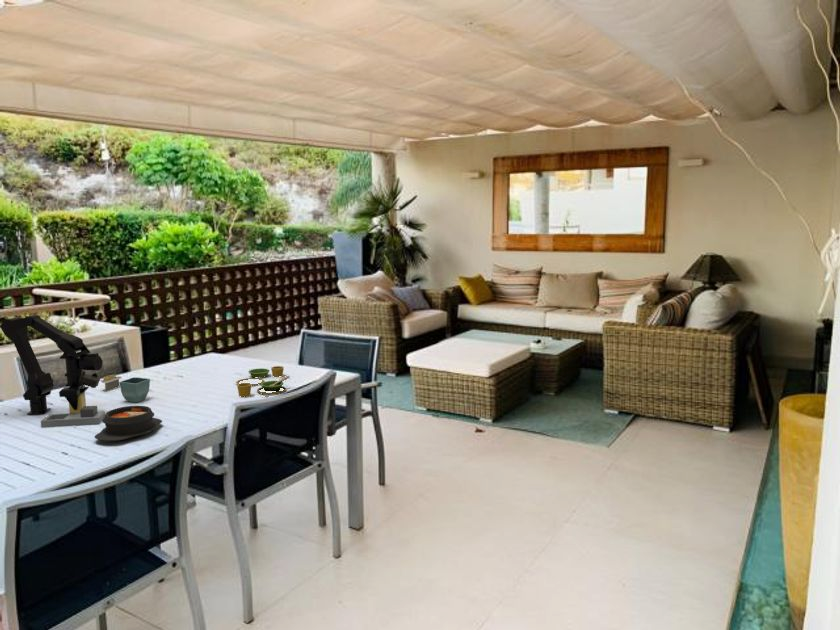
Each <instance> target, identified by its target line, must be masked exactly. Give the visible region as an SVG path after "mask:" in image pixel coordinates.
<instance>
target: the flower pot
mask: <svg viewBox="0 0 840 630" xmlns="http://www.w3.org/2000/svg"><path fill="white" fill-rule="evenodd" d="M150 382H151V378H147V377H146V378H145V377H134V376H133V377H130V378H126V379H124V380H122V381H119V388H120V392H121V394H122V397H123V399H124V400H125V401H126V402H131V403H139V402H142V401H143V400H144V401H145V399H147V396H148V395H149V391H150V384H151V383H150Z"/></svg>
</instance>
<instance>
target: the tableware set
mask: <svg viewBox="0 0 840 630" xmlns="http://www.w3.org/2000/svg"><path fill="white" fill-rule="evenodd" d="M270 368H271V370H270V369H269V368H253V369H249V370H248V374H249V375H250V376H251V377H246V378H241V379H238V380H236V382H235V384H236V387H237V392H238V396H241V397H240V398H245V397H244V396H249V395H250V396H251V391H252V386H251V385H257V386H259V385H258V384H260V386H261V387H259V388H257V389H256V392H257V393H259V394H260V393H262V394H261V395H263V394H276V395H279V394H278V393H280V394H283V393H284V392H285V391H286V390H287V387H286V386H282V385H285V384H284V383H285V382H283V381H284V380H287V379H289V378H290V375H288V376H286V375H285V376H286V377H283V376H284V375H283V374H284V366H282V365H279V366H278V365H277V366H275V365H274V366H272V367H270ZM270 371H271V373H272V377H273V376H274V377H279V376H282V375H283V376H282V377H281V378H282V379H281V378H280V379H281V380H280V379H279V381H278V380H266V381H265V380H264V379H263V378H253V377H264V376H266V377H267V375H268V374H269V372H270ZM274 377H273V378H274ZM264 378H265V377H264ZM248 379H259V380H262V382H261V383H258V384H250V383H241V384H239V382H240V381H243V380H248ZM263 388H264V390H265V391H276V392H272V393H266V392H260V391H259V390H261V389H263ZM280 388H283V389H284V390H283V391H279V390H280ZM282 392H283V393H282ZM250 396H249V397H250ZM263 396H265V397H264V398H268V397H269V396H270V395H263Z"/></svg>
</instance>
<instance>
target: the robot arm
mask: <svg viewBox="0 0 840 630" xmlns="http://www.w3.org/2000/svg"><path fill="white" fill-rule="evenodd" d="M28 327H30V328H32V330H33V329H34V331H36V332H37V333H40V334H41V335H43V336H45V337H46V339H47V338H48V339H49V340H51V341H52V342H54V343H55V345H56V346H57V348H58V349H59V350H60V351H62V352H63V354H61V355H60V356H59V359H60V360H64V361H65V362H64V363H65V373H64V377H66V383H65V387H63V388H62V389H60V391H59V392H58V395H59V398H65V399H66V400H67V402H68V404H69V403H70V405H71V406H72V408H73V409H74V410H77V407H78V397H79V396H80V395H81V394H82V393H86V391H87V390H88V389H89V388H91V389H96V388H97V387H98V386H99V384H100V383H99V382H101V376H100V375H99V373H98V372H94V373H93V374H87V372H86V371H101V369H102V367H103V362H104V361H103V359H102V357H101V356H100V355H99V352H94V353H91V351H90V350H89V348H88V347H87V346H86V344H85V343H84V341H83V339H82V338H81V337H79V336H76V335H74V334H70V333H66V332H64V331H62V330H60V329H59V328H57V327H55V326H54V325H52V323H50V322H48V321H47V320H44V319H43V318H41V316H40V315H38V314H31V315H27V316H25V317H20V316H15V317H11V318H6V319H3V320H2V321H1V324H0V330H1V332H3V334H4V336H5V337H6V338H8V339H9V340H10V341H12V343H13V345H14V347H15V350H16V352H17V354H18V356H19V358H20V361H21V362H22V364H23V367H24V369H25V371H26V374H27V381H26V384H27V388H28V389H27V390H26V391H25V392H24V393H23V394H22V397H23V399H24V401H29V409H30V411H29V412H27V413H26V415H27V416H28V415H31V416H33V415H45V414H46V413H48V412H49V411H51V407H48V402H47V396H50V395H51V393H52V390H54V389H53V388H54V386H55V385H54V382H55V380H54V379H53V378H52V375H51V373H50V372H45V371H43V369H42V367H41V365H40V363H39V360H38V359H37V355H35V352H34V350H33V348H32V345H31V343H30V340H29V338H28V332H29V328H28Z"/></svg>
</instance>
